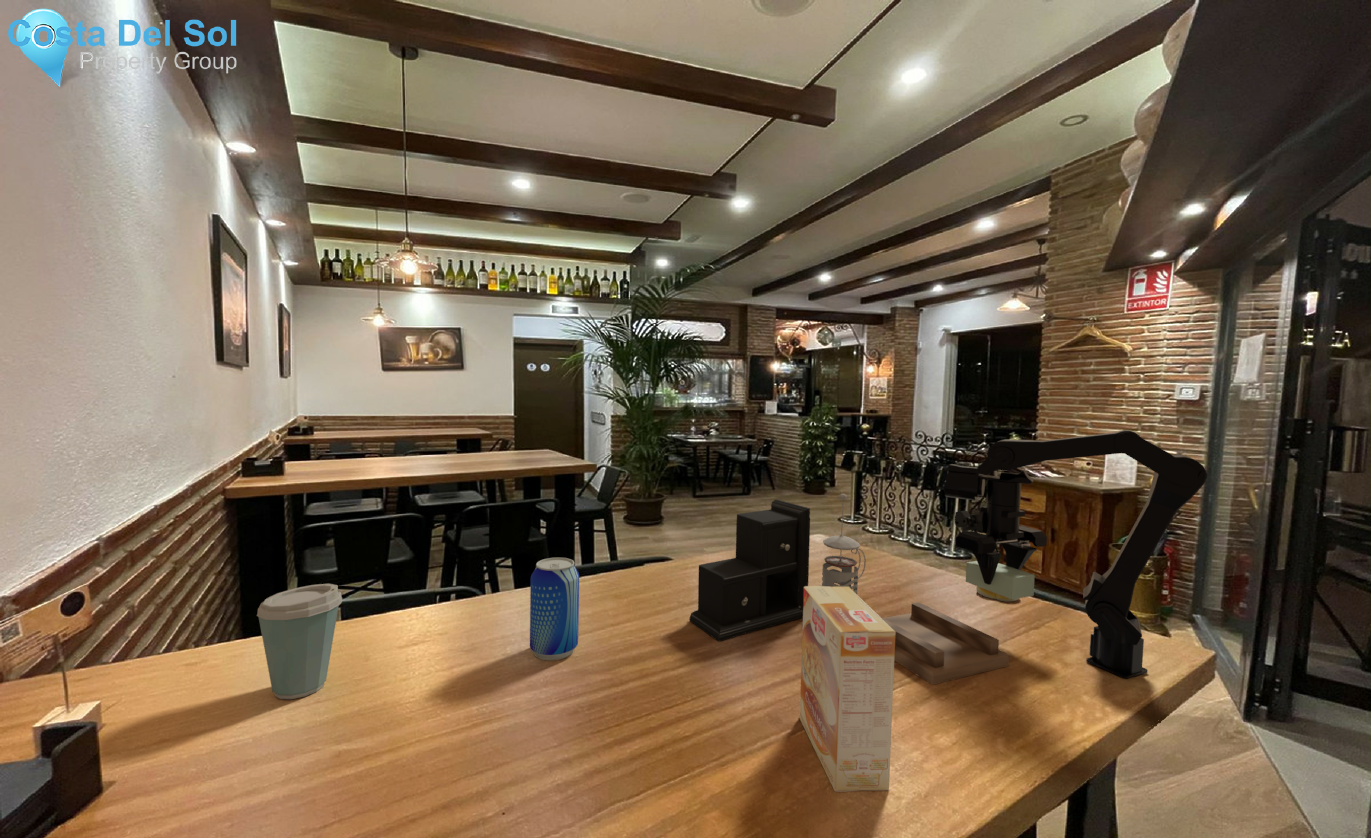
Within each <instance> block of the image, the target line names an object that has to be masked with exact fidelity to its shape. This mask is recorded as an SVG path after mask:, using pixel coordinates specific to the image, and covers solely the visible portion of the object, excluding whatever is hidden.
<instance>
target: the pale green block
mask: <svg viewBox="0 0 1371 838" xmlns="http://www.w3.org/2000/svg"><path fill="white" fill-rule="evenodd" d="M965 567H966V568H965V582H966V583H969V584H970V585H973V586H975V587H977V586H978V587H981V588H983V589H986V590H989V591H991V592H994V593H996V594H999V595H1002V596H1004V597H1007V598H1009V599H1017V598H1019V599H1023V598H1027V597H1033V596H1034V594H1035V591H1034V590H1035V577H1036V575H1035V574H1033V573H1030V572H1027V571H1024V570H1022V569H1021V570H1018V569H1015V568H1012V567H1009V566H1006V564H1003V563H1000V562H999V563H998V566H997V569H996V572H995V575H994V578H993V580H992V582H991V584H990V585H988V584H985V583H984V580H983V577H982V574H981V571H980V568H979V565H978V562H977V560H974V561H968V562H966V566H965Z"/></svg>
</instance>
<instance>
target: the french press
mask: <svg viewBox="0 0 1371 838" xmlns="http://www.w3.org/2000/svg"><path fill="white" fill-rule="evenodd" d="M838 499H839V500H842V501H841V502H842V503H841V507H842V508H841V526H840V527H841V531H840V532H841V534H839V535H831V536H829V537H827V538H825V539H823V541H822V543H823V545H824V546H826V547H827V548H831V549H835V550H839V551H840V555H830V556H829V555H828V556H825V558H824V562H825V563H823V564H822V571H821V572H822V573H821V574H822V578H821V581H822V583H821V586H830V587H850V588H851V589H852V590H853V591H854V592H855V593H856V594H857V595H858V588H859V587H858V582H859V581H858V580H859V579H860V578H861V577H862V576H863V574H864V572H865V570H866V563H867V561H866V555H865V552H864V551H863V550H862V549H860V546H861V544H860V543H859V542H858V541H856V539H854V538H851V537H849V536H847V535H843V521H844V520H843V519H844V516H843V515H844V500H848V496H847V494H845V493H841V494H839V495H838ZM853 550H855V552H853ZM842 551H850V553H852V554H853V555H857V553H858V557H859V559H858V562H859V563H858V562H857V560H855V559H854V558H852V557H847V556H842ZM860 552H861V553H862V555H863V559H864V561H863V564H864V565H863V569H862V572H861V574H860V575H859V569H860V567H861V554H860ZM857 564H858V567H857V566H856V565H857ZM831 567H836V568H839V569H841V570H839V569H835V568H831ZM828 568H831V569H828ZM852 579H853V580H852Z"/></svg>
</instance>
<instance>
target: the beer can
mask: <svg viewBox="0 0 1371 838" xmlns="http://www.w3.org/2000/svg"><path fill="white" fill-rule="evenodd" d="M530 575H531V576H530V589H529V590H530V591H529V592H530V594H529V595H530V596H529V597H530V598H529V599H530V600H529V601H530V604H529V605H530V607H529V649H530V650H531V652H532V653H533V655H534V656H535V657H536V658H537V659H539V660H541V661H547V662H549V661H558V660H564V659H566V658H568V657H570V656H571V655H573V653H574V651H575V649H576V648H577V646H578V645H579V622H580V621H579V616H580V615H579V614H580V613H579V611H580V610H579V609H580V607H579V606H580V601H579V600H580V574H579V570H578V569H577V568H576V566H575V561H574V560H573V559H571V558H567V557H549V558H548V557H547V558H544V559H541V560H538V561H537V562H536V564H535V569H534V570H533V572H532V573H531V574H530Z"/></svg>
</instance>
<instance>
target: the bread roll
mask: <svg viewBox="0 0 1371 838" xmlns="http://www.w3.org/2000/svg"><path fill="white" fill-rule="evenodd" d="M977 592H978V594H979V595H981V596H982V595H983V596H982V597H984V598H988V599H992V600H997V601H1000V602H1004V603H1005V602H1007V603H1008V602H1009V603H1012V602H1017V601H1019V600H1020V598H1017V599H1009V598H1007V597H1004V596H1002V595H999V594H996V593H994V592H991V591H989V590H986V589H983V588H981V587H978V586H976V593H977Z"/></svg>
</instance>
